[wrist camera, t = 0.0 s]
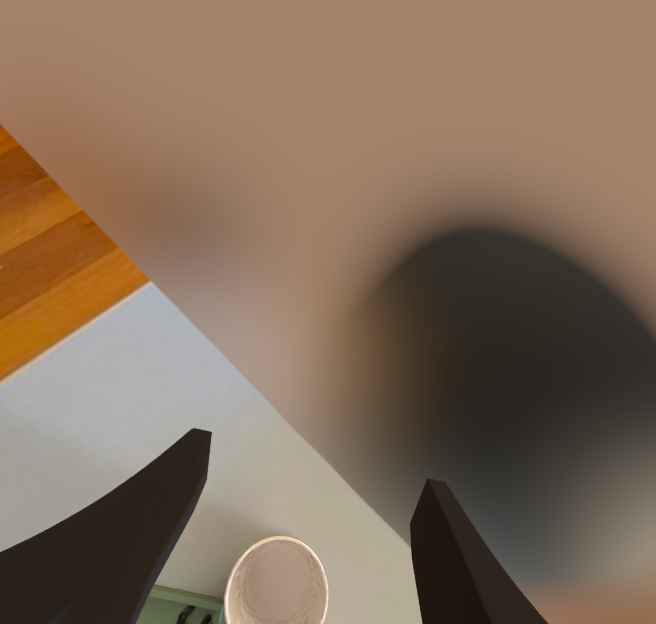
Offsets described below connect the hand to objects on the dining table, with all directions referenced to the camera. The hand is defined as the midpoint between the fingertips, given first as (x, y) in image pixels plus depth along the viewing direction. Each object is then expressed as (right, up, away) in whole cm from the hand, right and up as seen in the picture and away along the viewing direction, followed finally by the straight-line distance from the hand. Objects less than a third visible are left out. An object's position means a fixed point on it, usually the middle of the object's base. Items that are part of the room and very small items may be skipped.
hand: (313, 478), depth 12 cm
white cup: (-4, -21, +25) cm, 33 cm away
